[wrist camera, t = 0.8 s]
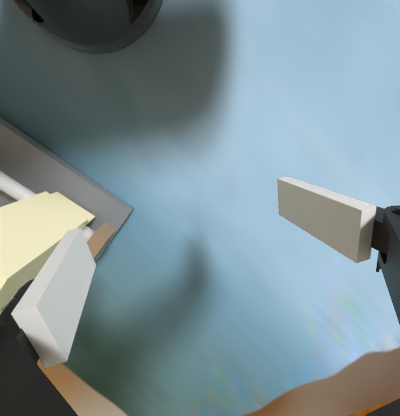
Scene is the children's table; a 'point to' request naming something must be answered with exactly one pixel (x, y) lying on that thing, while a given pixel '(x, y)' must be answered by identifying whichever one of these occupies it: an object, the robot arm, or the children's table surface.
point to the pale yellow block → (33, 237)
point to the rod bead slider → (57, 185)
